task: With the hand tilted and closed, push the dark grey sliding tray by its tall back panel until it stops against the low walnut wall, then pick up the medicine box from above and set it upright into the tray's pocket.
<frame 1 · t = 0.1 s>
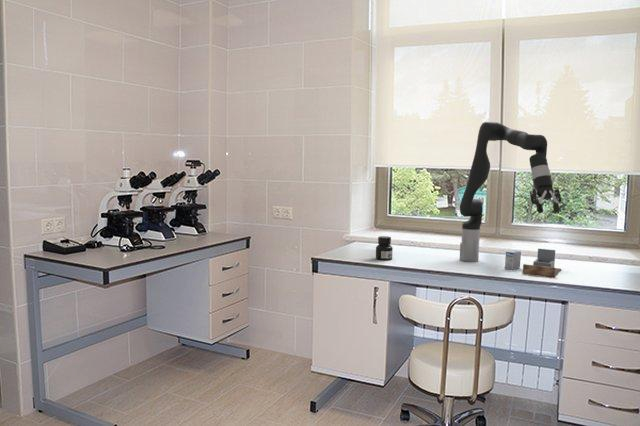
hand: (549, 212, 228), 31 cm above the table, tool tilted 20°, fingers open, 8 cm apart
ink bottle: (383, 259, 284), on the table
medicine box: (512, 268, 265), on the table
sliding tray: (544, 259, 261), point 5 cm above the table, slide at 0.0 cm
backstop: (542, 271, 258), on the table
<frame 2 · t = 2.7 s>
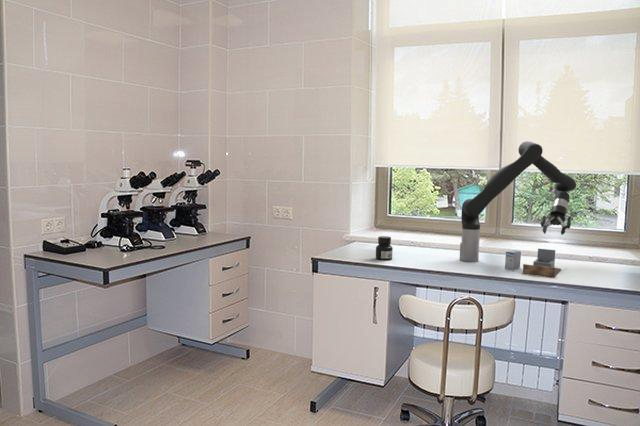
hand: (553, 233, 273), 17 cm above the table, tool tilted 40°, fingers open, 8 cm apart
nothing on the table moved.
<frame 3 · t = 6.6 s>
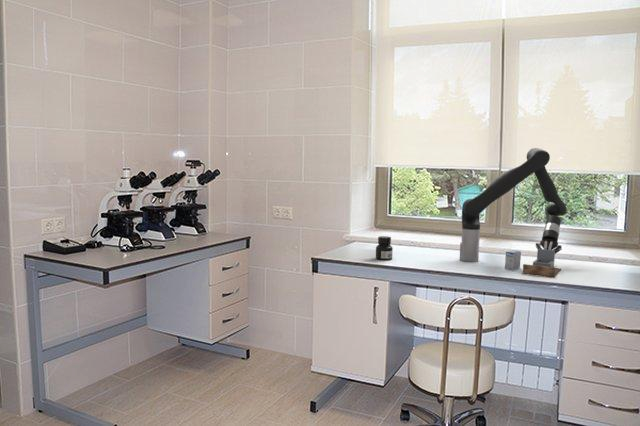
hand: (545, 260, 266), 4 cm above the table, tool tilted 45°, fingers closed
sliding tray: (543, 260, 260), point 5 cm above the table, slide at 1.0 cm, touching gripper
everything else where it was.
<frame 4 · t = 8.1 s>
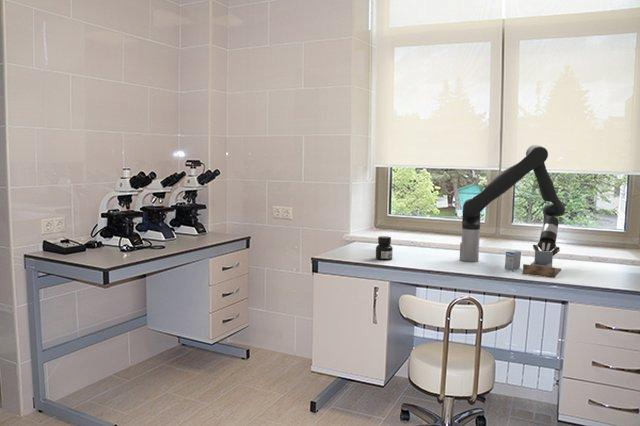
hand: (543, 262, 260), 4 cm above the table, tool tilted 45°, fingers closed
sliding tray: (541, 262, 254), point 5 cm above the table, slide at 8.0 cm, touching backstop, gripper
everything else where it was.
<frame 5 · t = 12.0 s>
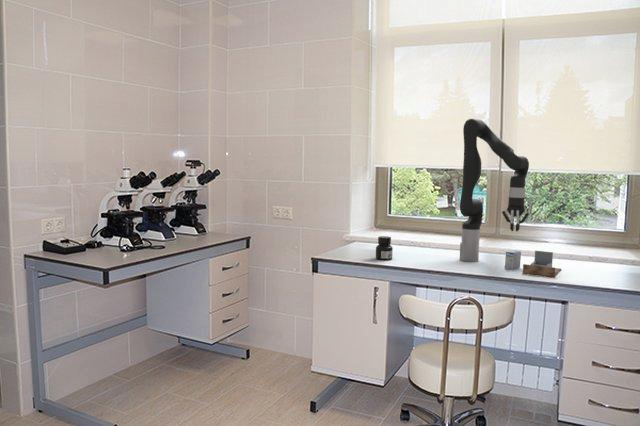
hand: (514, 230, 264), 19 cm above the table, tool pointing down, fingers closed
sliding tray: (541, 262, 254), point 5 cm above the table, slide at 8.0 cm, touching backstop
everything else where it was.
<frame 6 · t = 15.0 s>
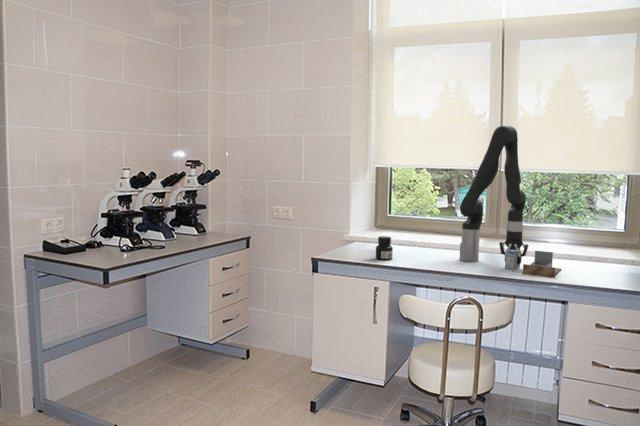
hand: (512, 263, 265), 2 cm above the table, tool pointing down, fingers closed on medicine box, 5 cm apart
medicine box: (512, 268, 265), on the table, touching gripper
everything else where it was.
when the fingers open (6 cm above the table, at t = 21.0 s): medicine box drops 3 cm, resting on sliding tray.
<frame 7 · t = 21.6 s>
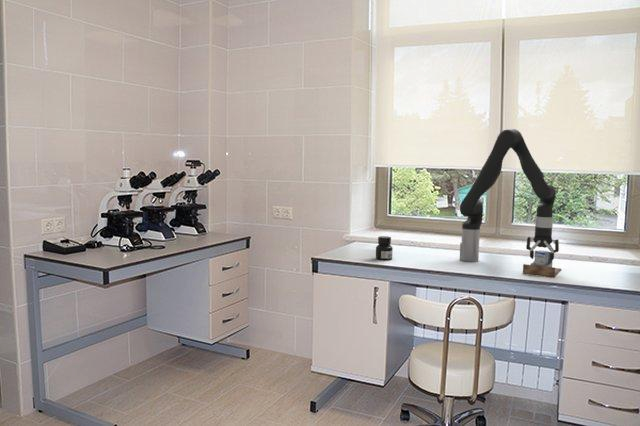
hand: (541, 259, 254), 7 cm above the table, tool pointing down, fingers open, 8 cm apart
medicine box: (541, 269, 255), point 2 cm above the table, touching sliding tray
sliding tray: (541, 262, 254), point 5 cm above the table, slide at 7.8 cm, touching medicine box
everything else where it was.
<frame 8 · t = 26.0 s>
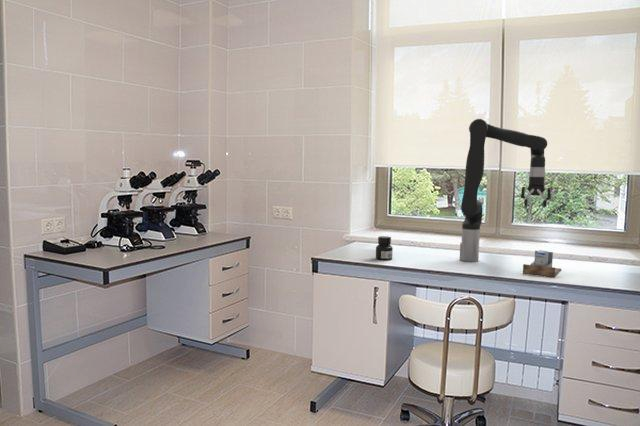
hand: (535, 207, 275), 30 cm above the table, tool pointing down, fingers open, 8 cm apart
nothing on the table moved.
at the end: sliding tray slide at 7.9 cm; medicine box 0.4 cm from the target spot, point 1.6 cm above the table; medicine box tilted 0° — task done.
